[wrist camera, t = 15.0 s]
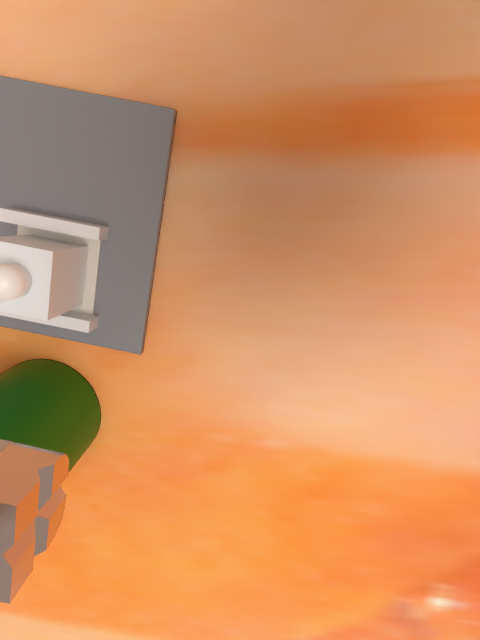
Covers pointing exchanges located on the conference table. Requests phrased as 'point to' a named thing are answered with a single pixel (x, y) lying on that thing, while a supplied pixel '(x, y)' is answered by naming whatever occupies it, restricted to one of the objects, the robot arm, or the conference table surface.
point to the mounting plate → (87, 199)
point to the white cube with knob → (41, 276)
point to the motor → (48, 408)
